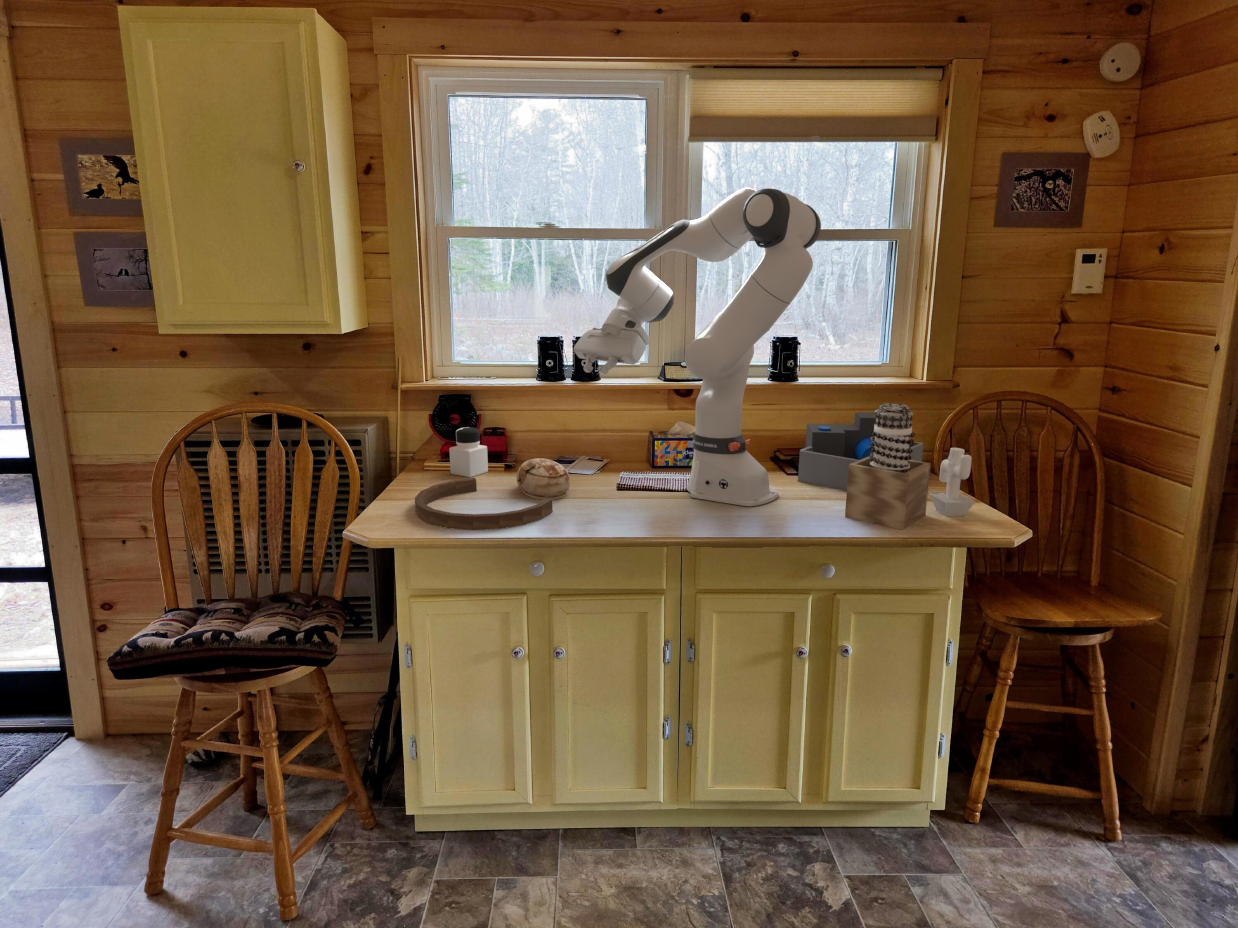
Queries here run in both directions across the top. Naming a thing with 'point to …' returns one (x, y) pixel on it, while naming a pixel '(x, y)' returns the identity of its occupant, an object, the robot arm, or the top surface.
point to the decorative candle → (892, 438)
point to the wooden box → (887, 493)
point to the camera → (843, 437)
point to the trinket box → (543, 479)
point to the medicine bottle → (468, 454)
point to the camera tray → (834, 467)
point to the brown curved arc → (473, 520)
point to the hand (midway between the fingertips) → (594, 371)
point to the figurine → (953, 484)
